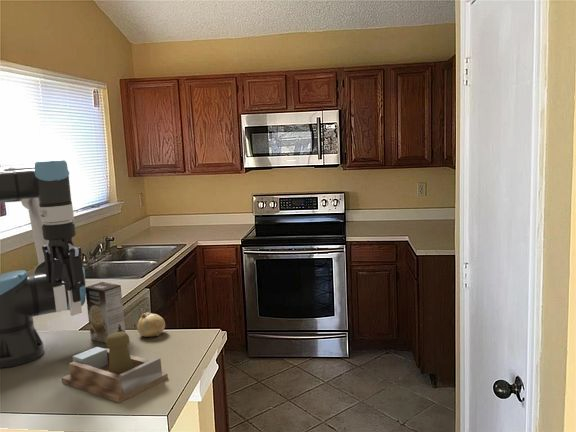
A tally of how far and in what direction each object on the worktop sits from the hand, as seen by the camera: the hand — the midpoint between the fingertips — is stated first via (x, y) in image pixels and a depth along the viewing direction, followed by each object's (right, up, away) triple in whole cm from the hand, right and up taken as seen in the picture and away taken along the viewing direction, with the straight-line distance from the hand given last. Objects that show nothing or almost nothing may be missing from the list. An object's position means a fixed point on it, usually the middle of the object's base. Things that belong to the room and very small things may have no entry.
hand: (69, 312), depth 139 cm
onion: (+15, -11, +23) cm, 30 cm away
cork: (+16, -14, -9) cm, 23 cm away
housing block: (+7, -14, -2) cm, 15 cm away
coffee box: (+3, -12, +23) cm, 26 cm away
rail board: (+14, -15, -7) cm, 22 cm away
